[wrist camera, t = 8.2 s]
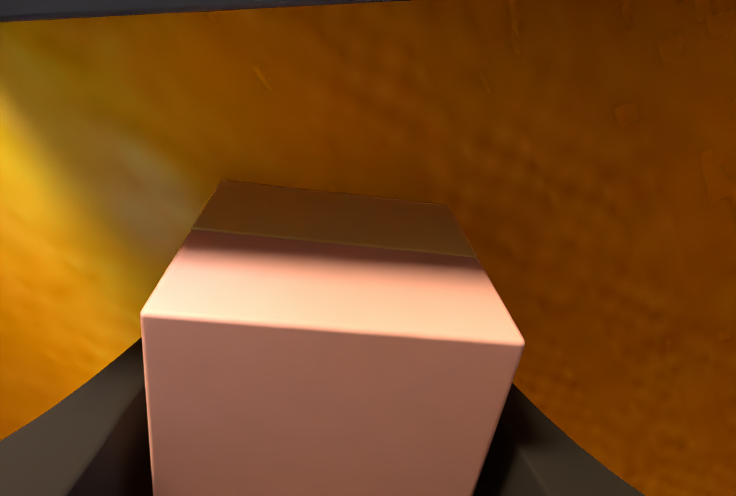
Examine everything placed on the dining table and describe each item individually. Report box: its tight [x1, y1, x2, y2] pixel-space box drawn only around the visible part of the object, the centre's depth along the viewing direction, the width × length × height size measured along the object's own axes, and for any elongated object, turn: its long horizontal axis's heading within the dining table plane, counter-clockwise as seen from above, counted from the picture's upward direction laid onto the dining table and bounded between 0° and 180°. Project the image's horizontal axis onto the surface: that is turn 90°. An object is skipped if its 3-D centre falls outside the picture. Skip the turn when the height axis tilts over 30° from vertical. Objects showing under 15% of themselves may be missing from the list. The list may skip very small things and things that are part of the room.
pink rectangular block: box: [140, 180, 525, 496], centre depth 10 cm, size 5×8×5 cm, turn 172°
